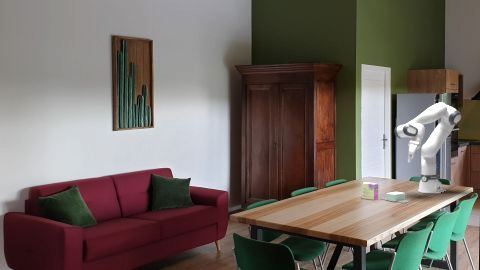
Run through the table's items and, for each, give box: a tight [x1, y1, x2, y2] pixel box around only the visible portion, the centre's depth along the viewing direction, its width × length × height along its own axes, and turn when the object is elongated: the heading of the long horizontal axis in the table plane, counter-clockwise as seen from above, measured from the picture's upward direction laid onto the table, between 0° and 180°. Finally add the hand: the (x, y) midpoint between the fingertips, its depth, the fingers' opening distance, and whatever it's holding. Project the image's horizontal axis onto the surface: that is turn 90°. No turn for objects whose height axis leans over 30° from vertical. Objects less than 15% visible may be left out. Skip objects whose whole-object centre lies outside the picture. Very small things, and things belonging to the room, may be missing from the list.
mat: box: [380, 197, 412, 204], centre depth 380 cm, size 10×20×1 cm, turn 37°
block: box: [385, 191, 406, 203], centre depth 379 cm, size 5×8×12 cm
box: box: [361, 181, 379, 201], centre depth 387 cm, size 10×6×12 cm, turn 41°
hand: (408, 162), depth 388 cm, fingers closed
